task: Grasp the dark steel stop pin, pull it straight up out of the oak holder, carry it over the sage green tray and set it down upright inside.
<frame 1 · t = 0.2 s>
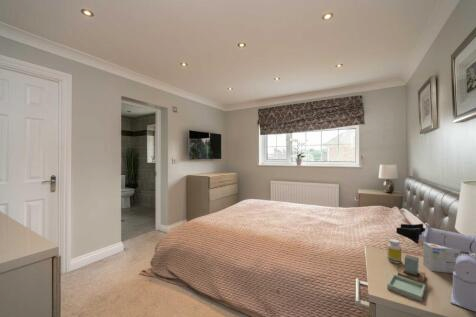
hand: (398, 228, 87), 21 cm above the nightstand, tool horizontal, fingers open, 7 cm apart
light bulb box: (440, 269, 96), on the nightstand
oak holder: (411, 276, 90), on the nightstand
sage tray: (406, 289, 82), on the nightstand
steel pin: (411, 267, 90), in the oak holder
supplement bottle: (394, 261, 103), on the nightstand
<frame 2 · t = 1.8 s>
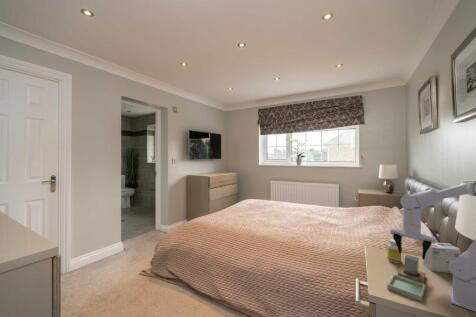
hand: (411, 255, 90), 9 cm above the nightstand, tool pointing down, fingers open, 7 cm apart
nothing on the nightstand moved.
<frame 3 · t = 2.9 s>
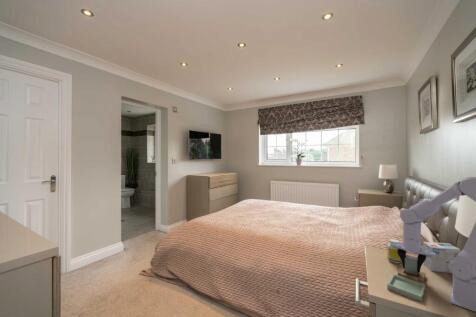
hand: (411, 269, 90), 3 cm above the nightstand, tool pointing down, fingers closed on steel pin, 4 cm apart
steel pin: (411, 267, 90), in the oak holder, touching gripper
everything else where it was.
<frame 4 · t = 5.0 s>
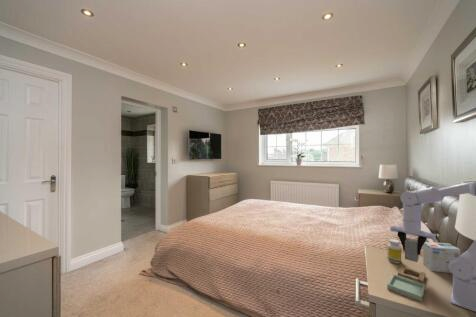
hand: (411, 252, 90), 10 cm above the nightstand, tool pointing down, fingers closed on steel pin, 4 cm apart
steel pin: (411, 249, 90), point 12 cm above the nightstand, touching gripper
everything else where it was.
when the fingers open (5 cm above the nightstand, at t = 7.4 s): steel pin drops 1 cm, resting on sage tray.
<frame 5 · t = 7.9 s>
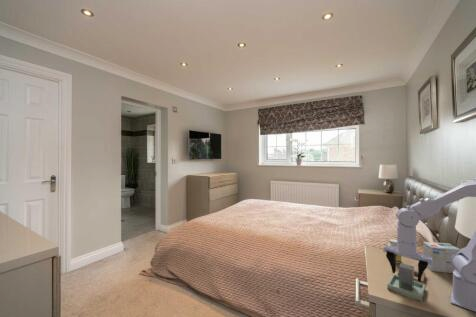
hand: (406, 276, 82), 5 cm above the nightstand, tool pointing down, fingers open, 7 cm apart
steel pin: (406, 276, 82), in the sage tray, point 5 cm above the nightstand
everything else where it was.
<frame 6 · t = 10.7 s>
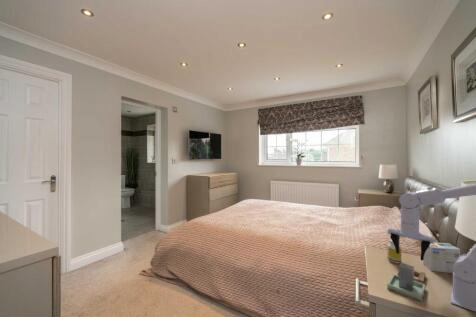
hand: (409, 255, 86), 10 cm above the nightstand, tool pointing down, fingers open, 7 cm apart
nothing on the nightstand moved.
at the end: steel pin 0.3 cm off-centre on the sage tray, point 4.6 cm above the sage tray's base; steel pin tilted 0°; the gripper is holding nothing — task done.
